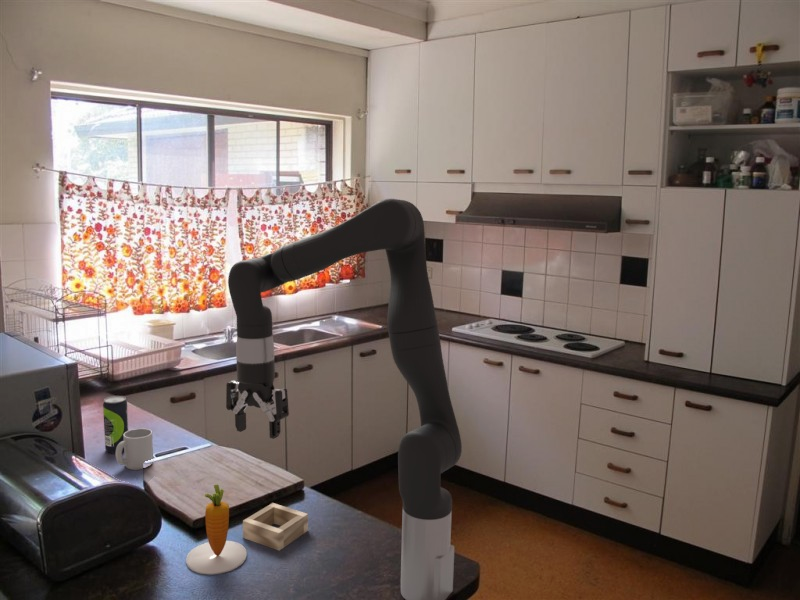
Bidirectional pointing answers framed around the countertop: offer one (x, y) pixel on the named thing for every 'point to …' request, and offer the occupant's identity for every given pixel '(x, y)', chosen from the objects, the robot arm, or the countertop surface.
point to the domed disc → (216, 558)
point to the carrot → (217, 521)
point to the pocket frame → (276, 538)
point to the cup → (135, 448)
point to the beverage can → (115, 421)
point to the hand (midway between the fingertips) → (257, 433)
